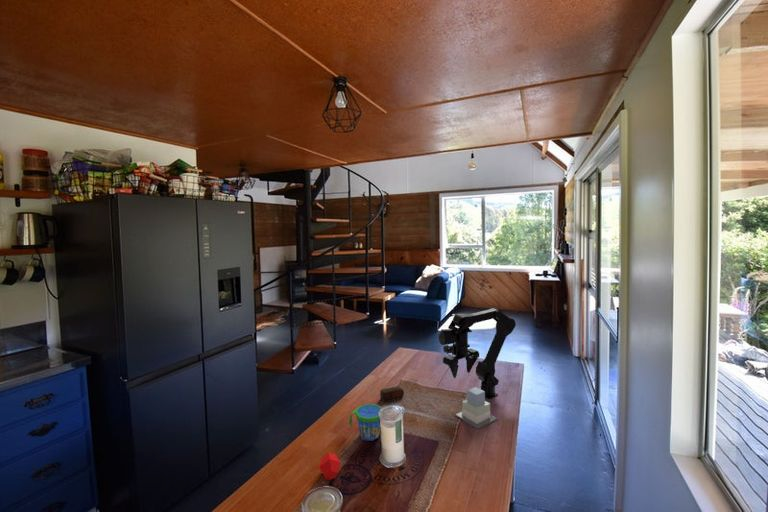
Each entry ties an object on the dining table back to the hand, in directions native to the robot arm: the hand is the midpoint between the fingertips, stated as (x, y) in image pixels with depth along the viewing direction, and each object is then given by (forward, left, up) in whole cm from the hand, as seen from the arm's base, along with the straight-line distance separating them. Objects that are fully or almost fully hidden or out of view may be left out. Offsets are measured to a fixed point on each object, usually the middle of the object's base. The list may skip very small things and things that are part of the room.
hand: (461, 375), depth 151 cm
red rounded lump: (+70, +9, -12) cm, 71 cm away
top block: (+6, +14, -5) cm, 16 cm away
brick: (+25, -20, -12) cm, 35 cm away
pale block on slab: (+6, +14, -12) cm, 19 cm away
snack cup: (+49, -1, -12) cm, 50 cm away
